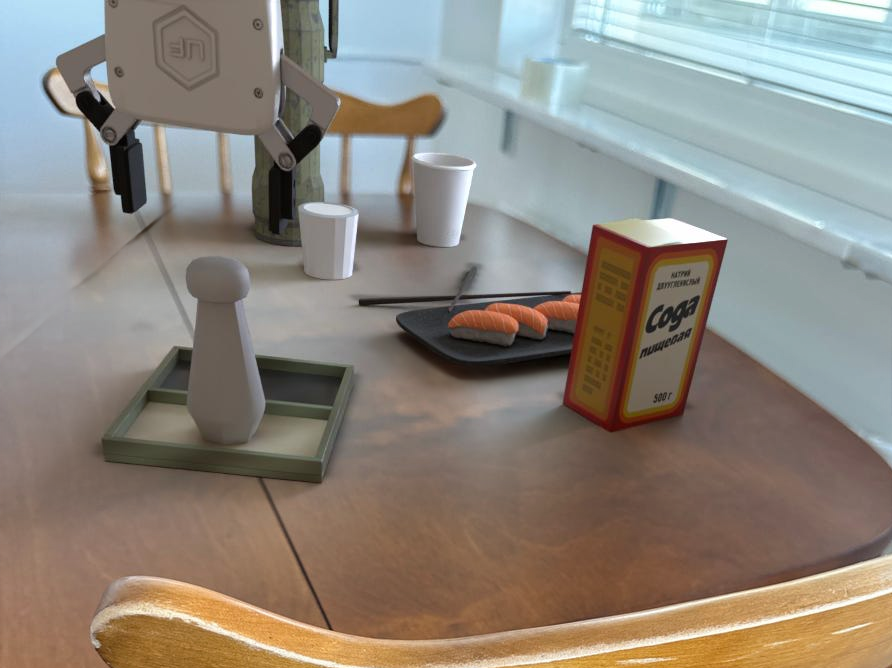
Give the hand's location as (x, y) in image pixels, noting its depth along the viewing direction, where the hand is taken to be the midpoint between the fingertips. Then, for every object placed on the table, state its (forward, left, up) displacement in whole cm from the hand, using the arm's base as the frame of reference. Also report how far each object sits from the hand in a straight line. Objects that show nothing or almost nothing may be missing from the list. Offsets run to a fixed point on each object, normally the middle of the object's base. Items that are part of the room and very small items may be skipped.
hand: (207, 218), depth 63 cm
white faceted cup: (+2, +46, -17) cm, 49 cm away
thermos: (-5, +59, -17) cm, 61 cm away
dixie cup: (+14, +65, -17) cm, 68 cm away
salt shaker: (+1, 0, -16) cm, 16 cm away
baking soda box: (+34, +15, -17) cm, 40 cm away
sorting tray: (+1, +4, -16) cm, 17 cm away
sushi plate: (+22, +37, -17) cm, 46 cm away
